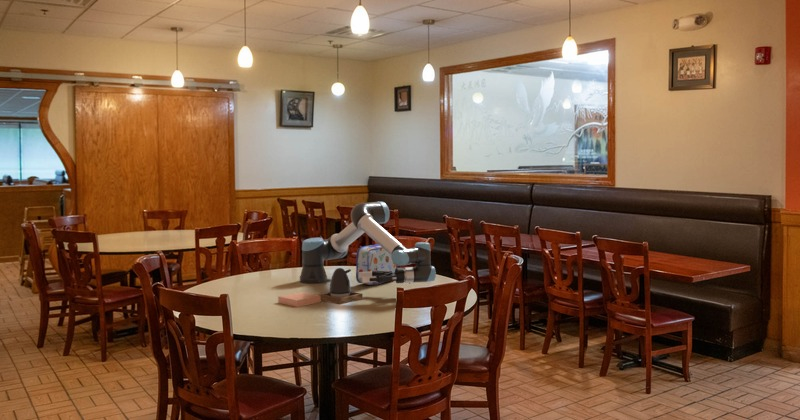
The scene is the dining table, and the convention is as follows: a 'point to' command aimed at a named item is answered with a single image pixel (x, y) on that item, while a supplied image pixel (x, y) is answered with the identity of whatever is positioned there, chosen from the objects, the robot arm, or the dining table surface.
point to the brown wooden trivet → (351, 297)
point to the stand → (299, 299)
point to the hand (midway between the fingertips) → (360, 277)
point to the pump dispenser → (340, 283)
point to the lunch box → (373, 261)
